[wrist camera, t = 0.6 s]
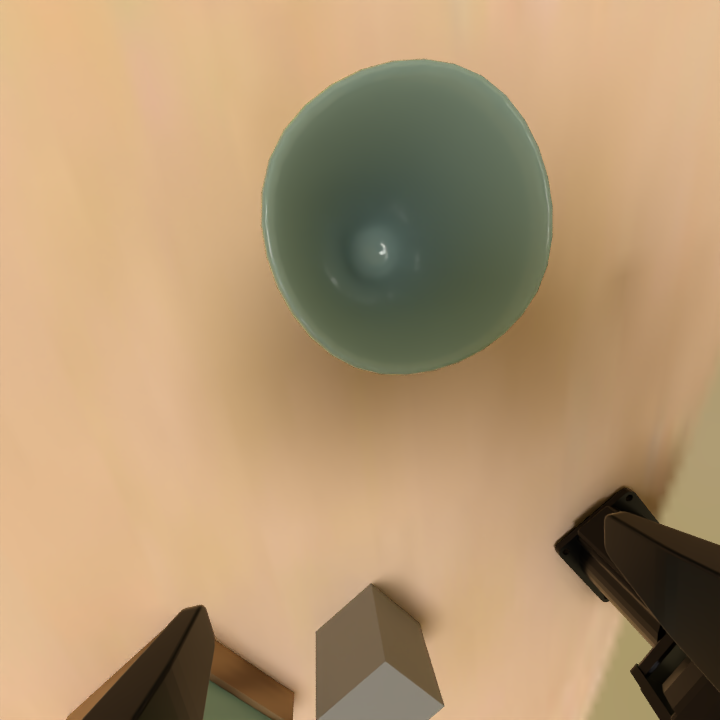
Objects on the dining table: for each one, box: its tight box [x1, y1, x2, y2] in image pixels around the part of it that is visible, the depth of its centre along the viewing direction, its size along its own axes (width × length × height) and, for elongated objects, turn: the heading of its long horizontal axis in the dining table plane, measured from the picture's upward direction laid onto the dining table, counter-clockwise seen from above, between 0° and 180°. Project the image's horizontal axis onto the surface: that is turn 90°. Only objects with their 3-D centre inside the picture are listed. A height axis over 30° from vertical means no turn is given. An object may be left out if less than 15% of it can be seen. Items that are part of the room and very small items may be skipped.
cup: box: [261, 59, 552, 375], centre depth 14 cm, size 8×8×10 cm
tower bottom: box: [66, 632, 294, 720], centre depth 23 cm, size 10×10×2 cm
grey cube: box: [316, 584, 444, 720], centre depth 22 cm, size 5×5×5 cm
